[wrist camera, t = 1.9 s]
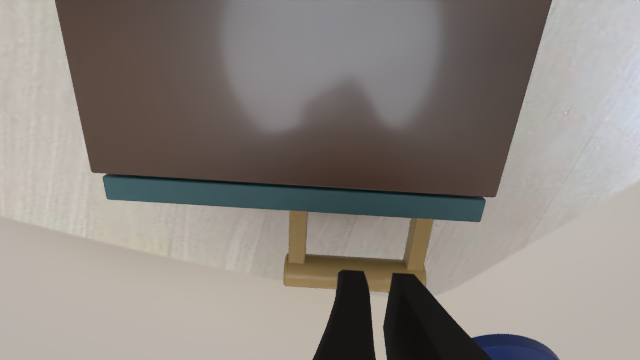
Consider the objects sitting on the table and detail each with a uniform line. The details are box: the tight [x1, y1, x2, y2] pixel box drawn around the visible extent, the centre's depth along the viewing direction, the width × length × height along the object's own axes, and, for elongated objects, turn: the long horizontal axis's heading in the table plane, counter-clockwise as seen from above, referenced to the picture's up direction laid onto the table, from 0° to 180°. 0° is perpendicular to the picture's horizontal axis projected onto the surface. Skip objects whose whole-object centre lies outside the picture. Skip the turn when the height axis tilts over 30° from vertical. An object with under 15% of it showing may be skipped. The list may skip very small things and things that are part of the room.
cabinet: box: [55, 0, 552, 197], centre depth 12 cm, size 10×12×9 cm
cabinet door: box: [103, 174, 486, 292], centre depth 15 cm, size 6×12×8 cm, turn 87°
